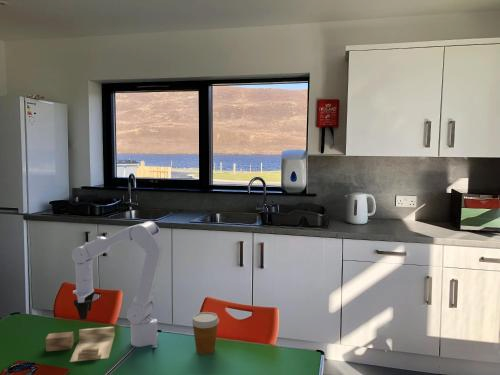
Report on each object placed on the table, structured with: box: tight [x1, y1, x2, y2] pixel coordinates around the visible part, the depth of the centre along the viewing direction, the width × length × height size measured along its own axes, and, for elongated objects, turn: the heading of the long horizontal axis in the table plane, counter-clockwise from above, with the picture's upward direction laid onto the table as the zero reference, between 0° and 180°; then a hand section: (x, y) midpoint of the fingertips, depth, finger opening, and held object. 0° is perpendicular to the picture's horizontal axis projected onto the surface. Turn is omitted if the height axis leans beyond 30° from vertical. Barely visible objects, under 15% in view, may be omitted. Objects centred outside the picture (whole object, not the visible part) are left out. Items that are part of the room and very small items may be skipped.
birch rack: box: [69, 326, 115, 363], centre depth 138 cm, size 12×16×4 cm
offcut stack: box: [78, 346, 101, 361], centre depth 131 cm, size 7×2×3 cm, turn 102°
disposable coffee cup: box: [191, 311, 220, 355], centre depth 138 cm, size 10×10×12 cm
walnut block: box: [45, 331, 75, 352], centre depth 138 cm, size 8×4×5 cm, turn 102°
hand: (85, 314), depth 146 cm, fingers open, 7 cm apart
